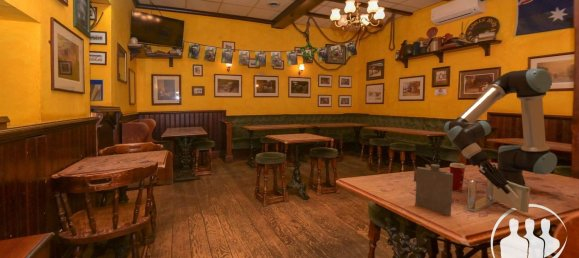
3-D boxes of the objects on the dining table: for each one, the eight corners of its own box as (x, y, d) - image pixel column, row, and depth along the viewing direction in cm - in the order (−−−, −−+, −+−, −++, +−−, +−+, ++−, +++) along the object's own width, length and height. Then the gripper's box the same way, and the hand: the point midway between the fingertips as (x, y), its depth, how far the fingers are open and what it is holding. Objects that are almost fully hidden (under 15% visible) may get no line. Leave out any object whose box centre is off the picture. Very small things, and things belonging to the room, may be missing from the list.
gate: (491, 198, 140) (493, 177, 139) (496, 198, 140) (497, 177, 139) (523, 212, 122) (525, 188, 121) (528, 212, 122) (530, 188, 121)
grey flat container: (427, 179, 182) (427, 164, 181) (431, 180, 179) (431, 165, 178) (413, 181, 177) (414, 165, 176) (417, 182, 174) (418, 166, 174)
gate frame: (486, 198, 145) (487, 172, 144) (497, 200, 141) (499, 174, 140) (463, 208, 130) (464, 180, 129) (475, 212, 126) (477, 182, 125)
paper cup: (466, 191, 156) (468, 165, 154) (450, 190, 157) (452, 165, 156) (461, 187, 163) (462, 162, 162) (446, 186, 165) (447, 162, 164)
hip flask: (413, 205, 135) (415, 162, 133) (419, 203, 137) (421, 161, 135) (448, 216, 121) (450, 168, 120) (453, 214, 123) (456, 167, 122)
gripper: (474, 158, 143) (513, 201, 131) (462, 161, 135) (502, 206, 123) (487, 148, 138) (528, 192, 126) (475, 151, 130) (518, 197, 118)
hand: (515, 199), depth 125 cm, fingers closed
